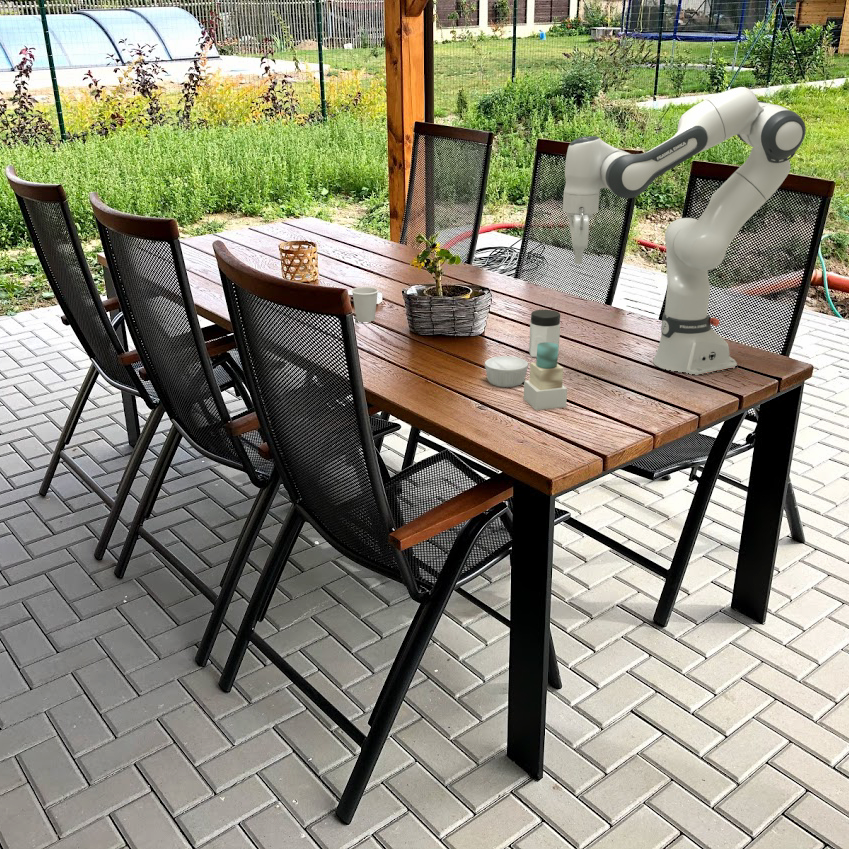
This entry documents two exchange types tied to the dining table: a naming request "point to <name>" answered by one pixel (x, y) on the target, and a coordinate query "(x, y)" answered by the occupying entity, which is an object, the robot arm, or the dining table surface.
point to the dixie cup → (365, 303)
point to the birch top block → (546, 377)
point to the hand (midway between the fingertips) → (577, 259)
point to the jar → (543, 329)
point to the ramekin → (506, 371)
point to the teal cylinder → (547, 355)
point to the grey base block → (545, 396)
